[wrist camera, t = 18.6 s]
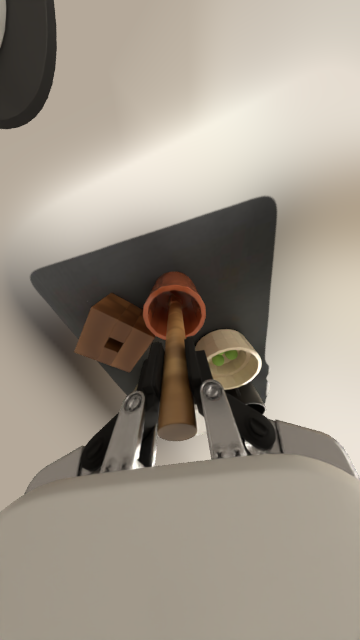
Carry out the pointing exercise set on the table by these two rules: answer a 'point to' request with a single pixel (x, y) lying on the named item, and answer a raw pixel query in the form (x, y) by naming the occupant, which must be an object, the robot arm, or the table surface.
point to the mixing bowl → (231, 370)
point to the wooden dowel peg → (176, 382)
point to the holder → (115, 333)
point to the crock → (158, 306)
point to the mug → (248, 397)
